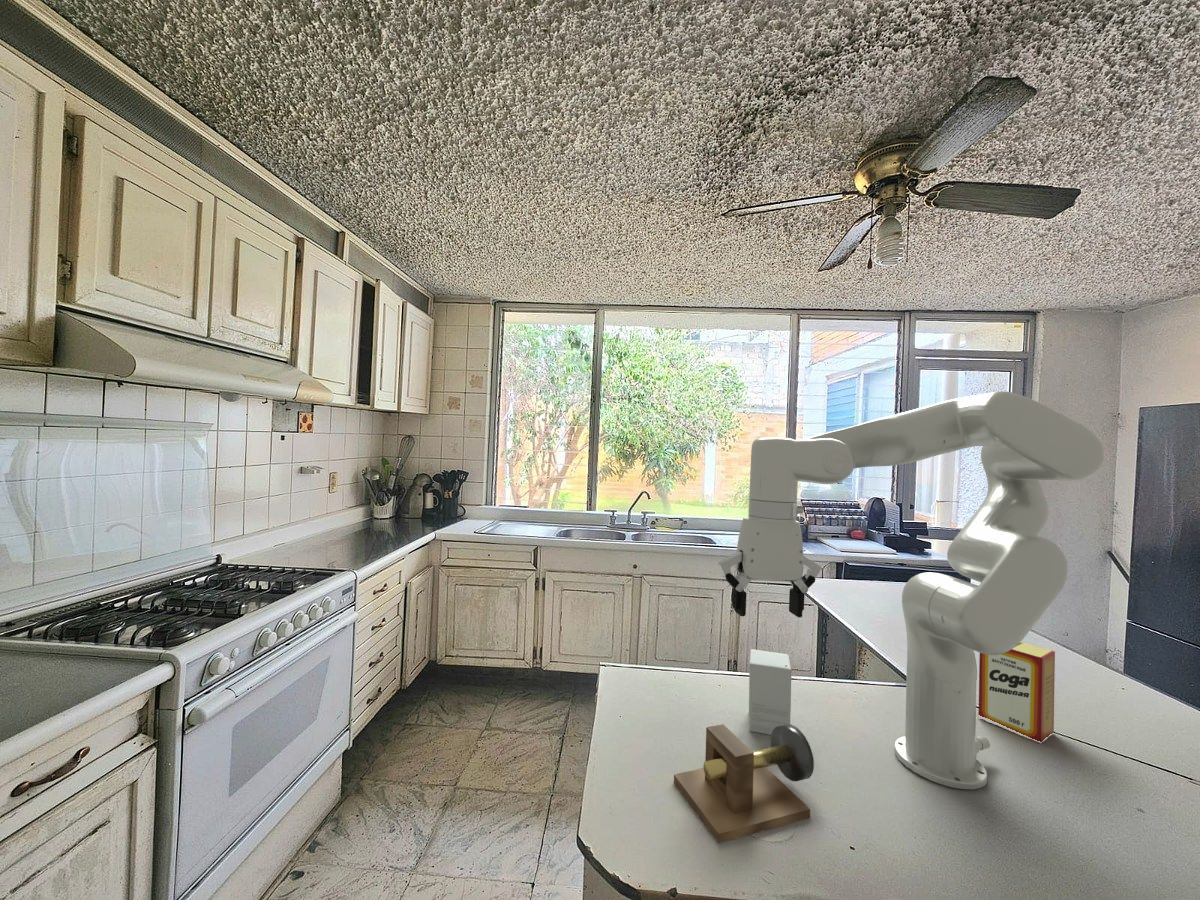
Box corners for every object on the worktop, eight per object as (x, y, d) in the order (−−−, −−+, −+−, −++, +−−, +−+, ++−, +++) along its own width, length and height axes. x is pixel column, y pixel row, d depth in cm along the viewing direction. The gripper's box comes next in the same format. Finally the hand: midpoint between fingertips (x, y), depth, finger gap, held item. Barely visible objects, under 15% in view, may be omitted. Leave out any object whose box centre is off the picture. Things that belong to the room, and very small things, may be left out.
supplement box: (788, 719, 91) (790, 653, 92) (790, 740, 84) (792, 669, 85) (748, 711, 94) (750, 647, 94) (747, 731, 87) (749, 662, 87)
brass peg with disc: (784, 759, 76) (785, 714, 77) (818, 788, 70) (819, 739, 70) (693, 779, 71) (695, 731, 71) (721, 814, 64) (722, 760, 64)
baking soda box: (1053, 734, 89) (1055, 649, 90) (1040, 744, 86) (1042, 655, 86) (992, 710, 97) (993, 632, 98) (978, 718, 94) (979, 638, 94)
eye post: (755, 764, 77) (756, 708, 78) (810, 817, 66) (811, 752, 66) (673, 782, 72) (675, 723, 73) (718, 843, 61) (720, 773, 61)
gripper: (809, 510, 83) (805, 608, 83) (714, 506, 82) (709, 606, 81) (834, 516, 76) (829, 623, 76) (730, 512, 74) (725, 621, 74)
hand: (767, 614), depth 78 cm, fingers open, 9 cm apart
